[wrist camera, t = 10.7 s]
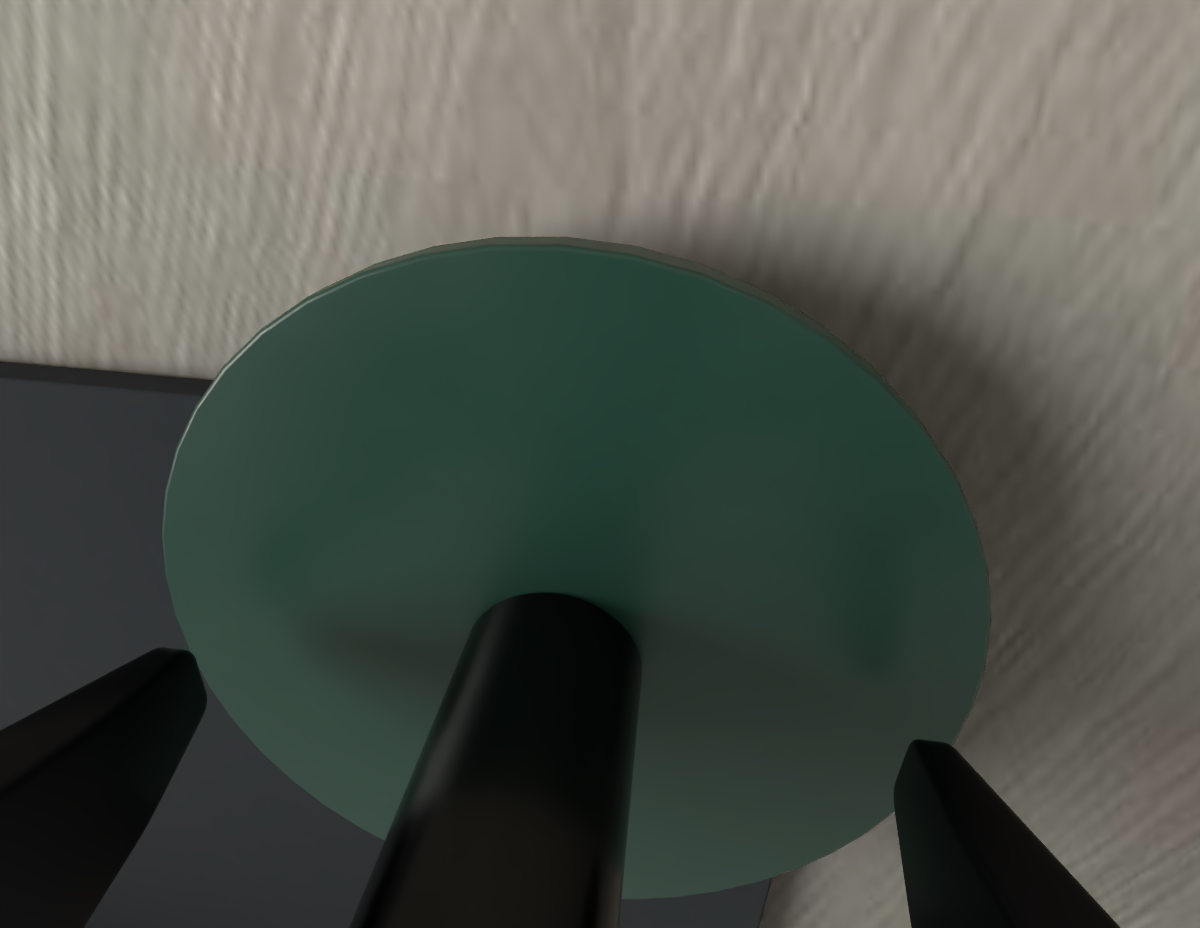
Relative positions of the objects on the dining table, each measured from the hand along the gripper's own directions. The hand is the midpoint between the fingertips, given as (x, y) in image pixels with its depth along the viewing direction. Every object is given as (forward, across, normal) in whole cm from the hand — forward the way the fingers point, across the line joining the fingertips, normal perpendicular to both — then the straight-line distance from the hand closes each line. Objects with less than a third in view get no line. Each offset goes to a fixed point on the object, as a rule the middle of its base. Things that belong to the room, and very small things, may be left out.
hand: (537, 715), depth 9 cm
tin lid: (+1, 0, 0) cm, 1 cm away
